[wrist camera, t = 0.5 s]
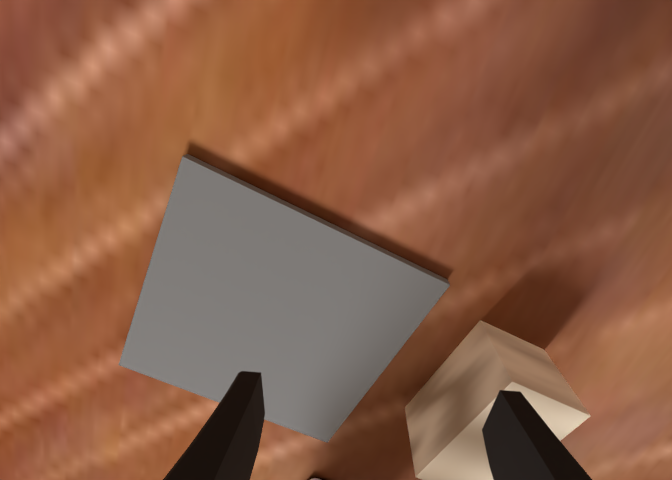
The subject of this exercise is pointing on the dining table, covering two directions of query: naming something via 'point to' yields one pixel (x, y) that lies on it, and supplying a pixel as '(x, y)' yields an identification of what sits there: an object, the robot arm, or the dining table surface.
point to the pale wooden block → (483, 402)
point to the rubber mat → (271, 302)
